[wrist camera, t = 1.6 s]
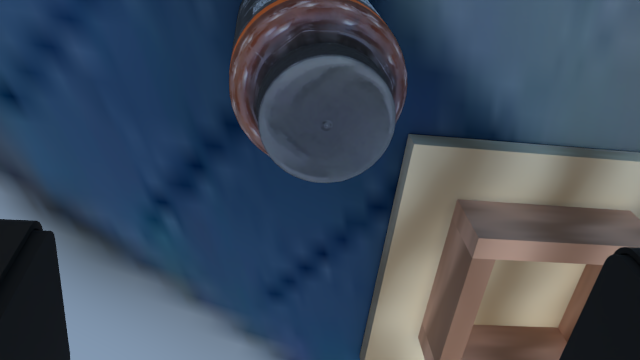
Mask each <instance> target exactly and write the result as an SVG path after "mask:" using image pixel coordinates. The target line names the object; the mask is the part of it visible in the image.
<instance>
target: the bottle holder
mask: <svg viewBox="0 0 640 360" xmlns="http://www.w3.org/2000/svg"><path fill="white" fill-rule="evenodd" d="M622 247H639V248H640V152H628V151H615V150H603V149H590V148H578V147H565V146H553V145H540V144H528V143H516V142H503V141H491V140H478V139H466V138H453V137H441V136H428V135H416V134H409V135H408V139H407V144H406V148H405V153H404V158H403V162H402V167H401V171H400V176H399V180H398V185H397V189H396V194H395V198H394V203H393V207H392V212H391V216H390V221H389V225H388V230H387V234H386V239H385V243H384V248H383V252H382V257H381V261H380V266H379V271H378V275H377V280H376V284H375V289H374V293H373V298H372V302H371V307H370V311H369V316H368V320H367V325H366V329H365V334H364V338H363V343H362V347H361V352H360V360H559V359H560V357H561V355H562V352H563V350H564V348H565V346H566V344H567V342H568V340H569V337H570V335H571V333H572V331H573V329H574V327H575V324H576V322H577V320H578V318H579V316H580V314H581V312H582V309H583V307H584V305H585V303H586V301H587V299H588V297H589V294H590V292H591V290H592V288H593V286H594V284H595V281H596V279H597V277H598V275H599V273H600V271H601V269H602V266H603V264H604V262H605V260H606V259H607V257H609V256H610V255H613V254H614V252H615V251H616V250H618V249H619V248H622Z"/></svg>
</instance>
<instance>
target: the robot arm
mask: <svg viewBox="0 0 640 360" xmlns="http://www.w3.org/2000/svg"><path fill="white" fill-rule="evenodd" d="M0 360H70V351H69V343H68V336H67V328H66V321H65V312H64V305H63V297H62V289H61V281H60V273H59V267H58V258H57V251H56V243H55V237H54V234H53V232H52V231H43V229H42V226H41V224H40V222H38V221H28V220H5V219H0ZM559 360H640V248H639V247H622V248H619V249H618V250H616V251H615V252H614V254H613V255H610V256H609V257H607V259H606V260H605V262H604V264H603V266H602V269H601V271H600V273H599V275H598V277H597V279H596V281H595V284H594V286H593V288H592V290H591V292H590V294H589V297H588V299H587V301H586V303H585V305H584V307H583V309H582V312H581V314H580V316H579V318H578V320H577V322H576V324H575V327H574V329H573V331H572V333H571V335H570V337H569V340H568V342H567V344H566V346H565V348H564V350H563V352H562V355H561V357H560V359H559Z"/></svg>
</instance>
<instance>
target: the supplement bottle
mask: <svg viewBox="0 0 640 360" xmlns="http://www.w3.org/2000/svg"><path fill="white" fill-rule="evenodd" d="M229 91H230V98H231V103H232V108H233V111H234V113H235V116H236V118H237V121H238V122H239V124H240V126H241V128H242V130H243V131H244V132H245V134H246V135H247V136H248V138H249V139H250V140H251V141H252V142H253V143H254V144H255V145H256V146H257V147H258V148H259V149H260V150H262V151H263V152H264V153H266V154H267V155H268V156H270V157H271V159H272V160H273V161H274V162H275V163H276V164H277V165H278V166H279V167H280V168H282V169H283V170H284V171H286V172H287V173H289V174H291V175H293V176H295V177H297V178H300V179H303V180H306V181H311V182H319V183H330V182H340V181H344V180H347V179H349V178H352V177H354V176H357V175H359V174H361V173H362V172H364V171H365V170H367V169H368V168H370V167H371V166H372V165H373V164H374V163H375V162H376V161H377V160H378V159H379V158H380V157H381V156H382V155H383V153H384V152H385V150H386V149H387V147H388V145H389V143H390V141H391V139H392V136H393V133H394V129H395V123H396V122H397V120H398V118H399V116H400V114H401V112H402V108H403V106H404V102H405V98H406V93H407V72H406V67H405V61H404V58H403V54H402V51H401V49H400V47H399V44H398V42H397V40H396V38H395V37H394V35H393V33H392V32H391V30H390V29H389V28H388V26H387V25H386V23H385V22H384V21H383V19H382V18H381V17H380V15H379V14H378V13H377V11H376V10H375V9H374V8H373V6H372V5H371V4H370V2H369V1H368V0H242V3H241V5H240V8H239V12H238V17H237V23H236V29H235V36H234V42H233V48H232V54H231V62H230V71H229Z"/></svg>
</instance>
